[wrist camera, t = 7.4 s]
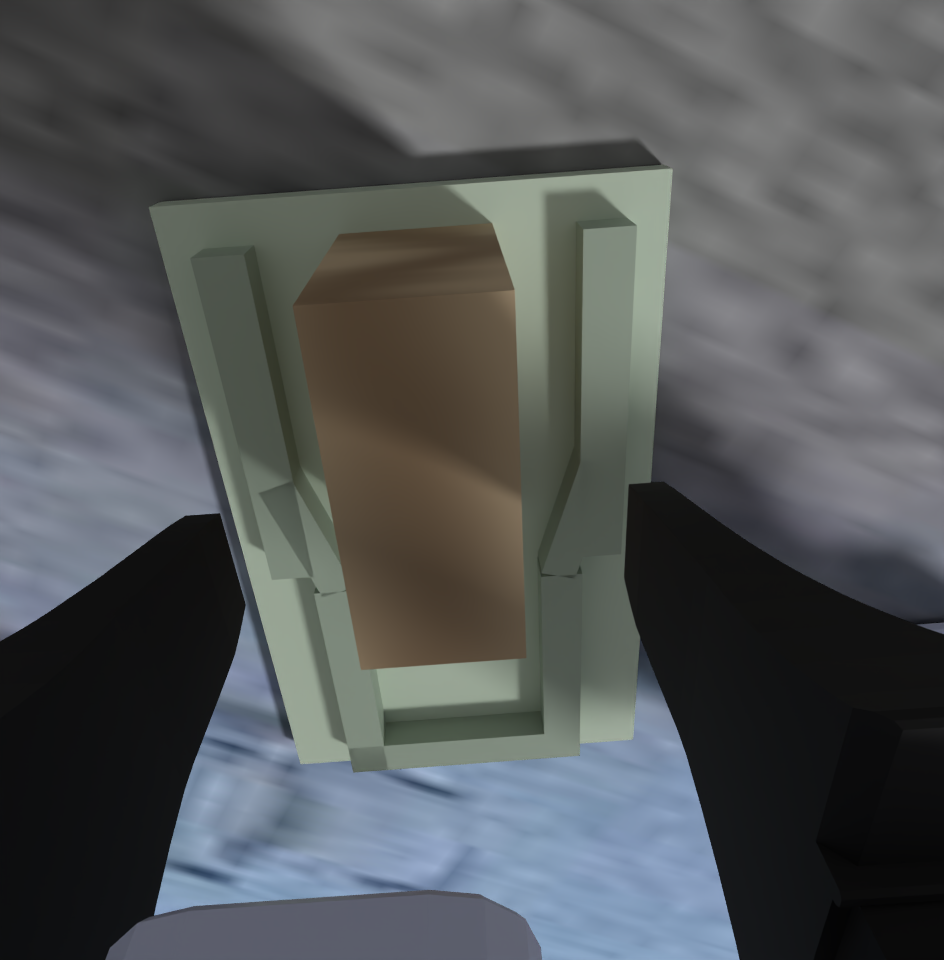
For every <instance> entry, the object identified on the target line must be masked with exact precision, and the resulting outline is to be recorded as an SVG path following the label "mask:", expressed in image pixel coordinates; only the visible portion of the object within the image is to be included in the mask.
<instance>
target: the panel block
mask: <svg viewBox="0 0 944 960" xmlns="http://www.w3.org/2000/svg"><path fill="white" fill-rule="evenodd" d="M293 311H294V317H295V322H296V327H297V333H298V338H299V343H300V349H301V354H302V359H303V364H304V370H305V375H306V380H307V386H308V391H309V396H310V402H311V407H312V412H313V418H314V423H315V428H316V434H317V439H318V444H319V450H320V455H321V460H322V466H323V471H324V476H325V481H326V487H327V492H328V497H329V503H330V508H331V513H332V519H333V524H334V529H335V535H336V540H337V545H338V551H339V556H340V561H341V567H342V572H343V577H344V583H345V588H346V593H347V599H348V604H349V609H350V614H351V620H352V625H353V630H354V636H355V641H356V646H357V652H358V657H359V662H360V668H361V670H370V669H384V668H398V667H412V666H425V665H439V664H453V663H467V662H481V661H495V660H509V659H523V658H526V628H525V596H524V564H523V532H522V500H521V468H520V436H519V404H518V372H517V341H516V309H515V289H514V286H513V283H512V280H511V277H510V274H509V271H508V268H507V265H506V262H505V259H504V257H503V254H502V251H501V248H500V245H499V242H498V239H497V236H496V233H495V230H494V227H493V224H492V223H487V224H472V225H458V226H444V227H430V228H416V229H402V230H388V231H374V232H360V233H345V234H339V235H338V236H337V238H336V239H335V241H334V243H333V244H332V246H331V247H330V249H329V250H328V252H327V253H326V255H325V256H324V258H323V260H322V261H321V263H320V264H319V266H318V267H317V269H316V270H315V272H314V273H313V275H312V277H311V278H310V280H309V281H308V283H307V284H306V286H305V287H304V289H303V290H302V292H301V294H300V295H299V297H298V298H297V300H296V301H295V303H294V304H293Z"/></svg>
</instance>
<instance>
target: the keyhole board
mask: <svg viewBox="0 0 944 960" xmlns="http://www.w3.org/2000/svg"><path fill="white" fill-rule="evenodd" d="M672 170H673V168H670V167H668V166H665V165H652V166H638V167H625V168H611V169H598V170H584V171H571V172H557V173H543V174H530V175H516V176H503V177H489V178H476V179H462V180H449V181H435V182H422V183H408V184H394V185H381V186H367V187H354V188H340V189H327V190H313V191H300V192H286V193H273V194H259V195H245V196H232V197H218V198H205V199H191V200H178V201H164V202H159V203H157V204H154V205H152V206H150V207H149V211H150V214H151V218H152V222H153V225H154V229H155V233H156V236H157V240H158V244H159V247H160V251H161V255H162V258H163V262H164V266H165V269H166V273H167V277H168V280H169V284H170V288H171V291H172V295H173V299H174V302H175V306H176V310H177V313H178V317H179V321H180V324H181V328H182V331H183V335H184V339H185V342H186V346H187V350H188V353H189V357H190V361H191V364H192V368H193V372H194V375H195V379H196V383H197V386H198V390H199V394H200V397H201V401H202V405H203V408H204V412H205V416H206V419H207V423H208V427H209V430H210V434H211V438H212V441H213V445H214V449H215V452H216V456H217V460H218V463H219V467H220V471H221V474H222V478H223V482H224V485H225V489H226V493H227V496H228V500H229V504H230V507H231V511H232V515H233V518H234V522H235V526H236V529H237V533H238V537H239V540H240V544H241V547H242V551H243V555H244V558H245V562H246V566H247V569H248V573H249V577H250V580H251V584H252V588H253V591H254V595H255V599H256V602H257V606H258V610H259V613H260V617H261V621H262V624H263V628H264V632H265V635H266V639H267V643H268V646H269V650H270V654H271V657H272V661H273V665H274V668H275V672H276V676H277V679H278V683H279V687H280V690H281V694H282V698H283V701H284V705H285V709H286V712H287V716H288V720H289V723H290V727H291V731H292V734H293V738H294V742H295V745H296V749H297V753H298V756H299V760H300V763H301V764H310V763H323V762H337V761H350V760H351V764H352V768H353V772H365V771H379V770H392V769H406V768H419V767H433V766H446V765H460V764H474V763H487V762H501V761H514V760H528V759H541V758H555V757H568V756H580V743H593V742H607V741H620V740H633V731H634V717H635V702H636V688H637V673H638V659H639V645H640V635H639V633H638V630H637V628H636V625H635V621H634V617H633V613H632V609H631V606H630V602H629V597H628V593H627V589H626V585H625V581H624V566H625V546H626V527H627V507H628V487H629V484H638V483H651V472H652V458H653V443H654V429H655V414H656V400H657V386H658V371H659V357H660V342H661V328H662V314H663V299H664V285H665V270H666V256H667V242H668V227H669V213H670V199H671V184H672ZM487 223H492V224H493V227H494V230H495V233H496V236H497V239H498V242H499V245H500V248H501V251H502V254H503V257H504V259H505V262H506V265H507V268H508V271H509V274H510V277H511V280H512V283H513V286H514V289H515V309H516V341H517V372H518V404H519V436H520V468H521V500H522V532H523V564H524V596H525V628H526V658H523V659H509V660H495V661H481V662H467V663H453V664H439V665H425V666H412V667H398V668H384V669H370V670H361V668H360V662H359V657H358V652H357V646H356V641H355V636H354V630H353V625H352V620H351V614H350V609H349V604H348V599H347V593H346V588H345V583H344V577H343V572H342V567H341V561H340V556H339V551H338V545H337V540H336V535H335V529H334V524H333V519H332V513H331V508H330V503H329V497H328V492H327V487H326V481H325V476H324V471H323V466H322V460H321V455H320V450H319V444H318V439H317V434H316V428H315V423H314V418H313V412H312V407H311V402H310V396H309V391H308V386H307V380H306V375H305V370H304V364H303V359H302V354H301V349H300V343H299V338H298V333H297V327H296V322H295V317H294V311H293V304H294V303H295V301H296V300H297V298H298V297H299V295H300V294H301V292H302V290H303V289H304V287H305V286H306V284H307V283H308V281H309V280H310V278H311V277H312V275H313V273H314V272H315V270H316V269H317V267H318V266H319V264H320V263H321V261H322V260H323V258H324V256H325V255H326V253H327V252H328V250H329V249H330V247H331V246H332V244H333V243H334V241H335V239H336V238H337V236H338V235H339V234H345V233H360V232H374V231H388V230H402V229H416V228H430V227H444V226H458V225H472V224H487Z"/></svg>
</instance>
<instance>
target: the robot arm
mask: <svg viewBox="0 0 944 960" xmlns="http://www.w3.org/2000/svg"><path fill="white" fill-rule="evenodd" d="M624 581H625V585H626V589H627V593H628V597H629V602H630V606H631V609H632V613H633V617H634V621H635V625H636V628H637V630H638V633H639V635H640V638H641V641H642V643H643V646H644V648H645V651H646V653H647V656H648V658H649V661H650V663H651V666H652V668H653V671H654V673H655V676H656V678H657V680H658V683H659V685H660V688H661V690H662V693H663V695H664V698H665V700H666V703H667V705H668V708H669V710H670V712H671V715H672V717H673V720H674V722H675V725H676V727H677V730H678V732H679V735H680V738H681V741H682V744H683V747H684V749H685V752H686V755H687V759H688V762H689V766H690V769H691V773H692V776H693V780H694V783H695V787H696V790H697V794H698V797H699V801H700V804H701V808H702V812H703V815H704V819H705V823H706V827H707V830H708V834H709V838H710V842H711V845H712V849H713V853H714V857H715V860H716V864H717V868H718V872H719V876H720V880H721V884H722V888H723V892H724V896H725V900H726V904H727V909H728V913H729V917H730V921H731V925H732V929H733V933H734V937H735V941H736V945H737V950H738V954H739V959H740V960H944V623H932V624H918V625H916V624H913V623H910V622H908V621H905V620H902V619H900V618H897V617H895V616H893V615H890V614H888V613H885V612H883V611H880V610H878V609H875V608H873V607H871V606H868V605H866V604H863V603H861V602H859V601H856V600H854V599H852V598H850V597H848V596H845V595H843V594H841V593H839V592H837V591H835V590H833V589H831V588H829V587H827V586H825V585H823V584H821V583H819V582H817V581H815V580H813V579H811V578H809V577H807V576H805V575H803V574H801V573H800V572H798V571H796V570H794V569H792V568H790V567H789V566H787V565H785V564H784V563H782V562H780V561H779V560H777V559H775V558H774V557H772V556H770V555H769V554H767V553H765V552H764V551H762V550H761V549H759V548H757V547H756V546H754V545H753V544H751V543H750V542H748V541H747V540H745V539H743V538H742V537H740V536H739V535H738V534H736V533H735V532H733V531H732V530H730V529H729V528H727V527H726V526H725V525H723V524H722V523H720V522H719V521H717V520H716V519H715V518H713V517H712V516H710V515H709V514H708V513H706V512H705V511H704V510H702V509H701V508H700V507H698V506H697V505H695V504H694V503H693V502H691V501H690V500H689V499H687V498H686V497H685V496H683V495H682V494H681V493H679V492H678V491H676V490H675V489H674V488H672V487H671V486H669V485H668V484H666V483H665V482H652V483H638V484H629V487H628V507H627V527H626V546H625V566H624ZM244 610H245V601H244V597H243V594H242V590H241V587H240V583H239V580H238V576H237V573H236V569H235V565H234V562H233V558H232V555H231V551H230V548H229V544H228V540H227V537H226V533H225V530H224V526H223V523H222V519H221V516H220V513H218V514H204V515H190V516H184V517H183V518H181V519H179V520H178V521H176V522H175V523H173V524H172V525H170V526H169V527H167V528H166V529H164V530H163V531H162V532H160V533H159V534H157V535H156V536H155V537H153V538H152V539H151V540H149V541H148V542H147V543H145V544H144V545H143V546H141V547H140V548H139V549H137V550H136V551H135V552H133V553H132V554H131V555H129V556H128V557H126V558H125V559H124V560H122V561H121V562H120V563H118V564H117V565H116V566H114V567H113V568H112V569H110V570H109V571H108V572H106V573H105V574H104V575H102V576H101V577H99V578H98V579H97V580H95V581H94V582H92V583H91V584H89V585H88V586H86V587H85V588H83V589H82V590H81V591H79V592H78V593H76V594H75V595H73V596H72V597H70V598H69V599H67V600H66V601H64V602H63V603H61V604H60V605H59V606H57V607H56V608H54V609H53V610H51V611H50V612H48V613H47V614H45V615H44V616H42V617H40V618H39V619H37V620H36V621H34V622H32V623H31V624H29V625H28V626H26V627H24V628H23V629H21V630H19V631H18V632H16V633H14V634H12V635H11V636H9V637H7V638H5V639H4V640H2V641H0V960H542V955H541V947H540V945H539V943H538V942H537V940H536V938H535V936H534V934H533V932H532V930H531V928H530V927H529V925H528V923H527V921H526V919H525V918H523V917H522V916H520V915H519V914H518V913H516V912H515V911H512V910H510V909H508V908H506V907H504V906H502V905H500V904H498V903H496V902H494V901H492V900H490V899H488V898H486V897H484V896H482V895H480V894H471V893H459V892H447V891H436V890H422V891H408V892H393V893H379V894H364V895H350V896H335V897H321V898H306V899H292V900H277V901H263V902H248V903H234V904H220V905H205V906H193V907H189V908H185V909H181V910H176V911H172V912H168V913H164V914H160V915H156V916H154V912H155V908H156V903H157V899H158V895H159V890H160V886H161V882H162V878H163V873H164V869H165V865H166V861H167V856H168V852H169V848H170V844H171V840H172V836H173V832H174V828H175V825H176V821H177V817H178V813H179V809H180V806H181V802H182V798H183V794H184V791H185V787H186V784H187V781H188V778H189V775H190V772H191V769H192V766H193V763H194V761H195V758H196V756H197V753H198V750H199V748H200V745H201V743H202V740H203V737H204V735H205V732H206V730H207V727H208V724H209V722H210V719H211V717H212V714H213V711H214V709H215V706H216V704H217V701H218V698H219V696H220V693H221V691H222V688H223V685H224V683H225V680H226V677H227V675H228V672H229V669H230V666H231V664H232V661H233V658H234V655H235V652H236V647H237V643H238V639H239V635H240V630H241V625H242V620H243V615H244Z"/></svg>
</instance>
